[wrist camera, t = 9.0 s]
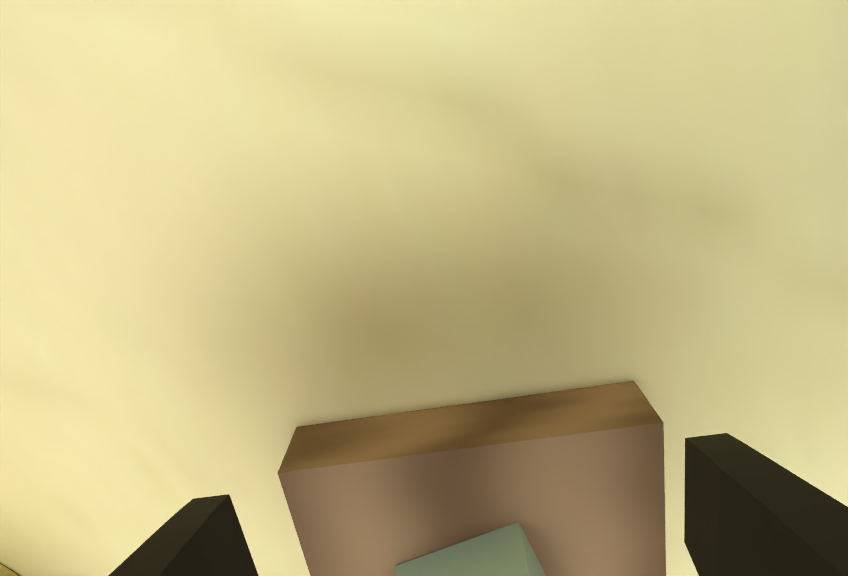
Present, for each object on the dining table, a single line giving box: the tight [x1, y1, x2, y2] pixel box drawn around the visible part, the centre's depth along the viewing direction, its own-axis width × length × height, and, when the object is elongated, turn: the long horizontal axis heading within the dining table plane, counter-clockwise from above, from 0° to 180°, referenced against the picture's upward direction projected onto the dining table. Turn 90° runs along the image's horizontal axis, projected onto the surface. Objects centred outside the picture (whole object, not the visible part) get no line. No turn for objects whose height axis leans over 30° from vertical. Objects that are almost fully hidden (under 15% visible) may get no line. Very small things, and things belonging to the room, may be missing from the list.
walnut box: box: [278, 381, 666, 576], centre depth 20 cm, size 12×12×3 cm
